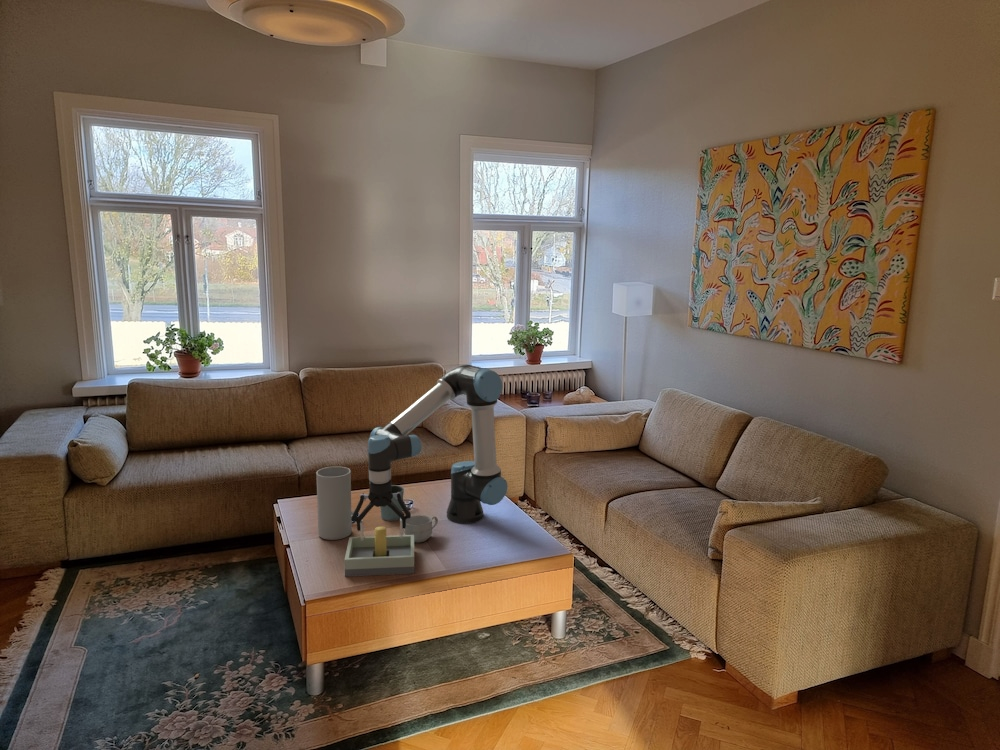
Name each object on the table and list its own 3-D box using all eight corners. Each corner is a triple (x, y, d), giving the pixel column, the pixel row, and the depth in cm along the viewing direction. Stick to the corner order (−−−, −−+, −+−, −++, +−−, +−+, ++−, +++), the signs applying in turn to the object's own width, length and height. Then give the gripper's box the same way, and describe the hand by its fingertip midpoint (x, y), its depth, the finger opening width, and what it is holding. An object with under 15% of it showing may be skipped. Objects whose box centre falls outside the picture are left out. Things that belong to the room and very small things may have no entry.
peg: (386, 563, 232) (386, 530, 230) (374, 563, 232) (374, 531, 230) (386, 558, 236) (386, 526, 234) (375, 558, 236) (374, 526, 233)
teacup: (409, 547, 245) (409, 527, 244) (399, 536, 255) (399, 516, 253) (444, 540, 251) (444, 520, 250) (433, 530, 261) (433, 510, 259)
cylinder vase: (343, 542, 248) (341, 478, 244) (312, 538, 251) (310, 475, 246) (357, 529, 260) (355, 467, 256) (327, 526, 263) (325, 465, 258)
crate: (414, 550, 243) (414, 534, 242) (414, 573, 225) (414, 556, 224) (349, 552, 240) (349, 537, 239) (344, 576, 222) (344, 559, 221)
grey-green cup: (401, 511, 279) (401, 483, 277) (406, 520, 270) (406, 492, 268) (377, 513, 276) (377, 486, 274) (381, 523, 267) (380, 494, 264)
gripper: (416, 475, 234) (417, 531, 238) (344, 477, 231) (346, 535, 235) (416, 482, 227) (417, 540, 231) (341, 485, 223) (344, 544, 228)
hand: (382, 537), depth 233 cm, fingers open, 13 cm apart
